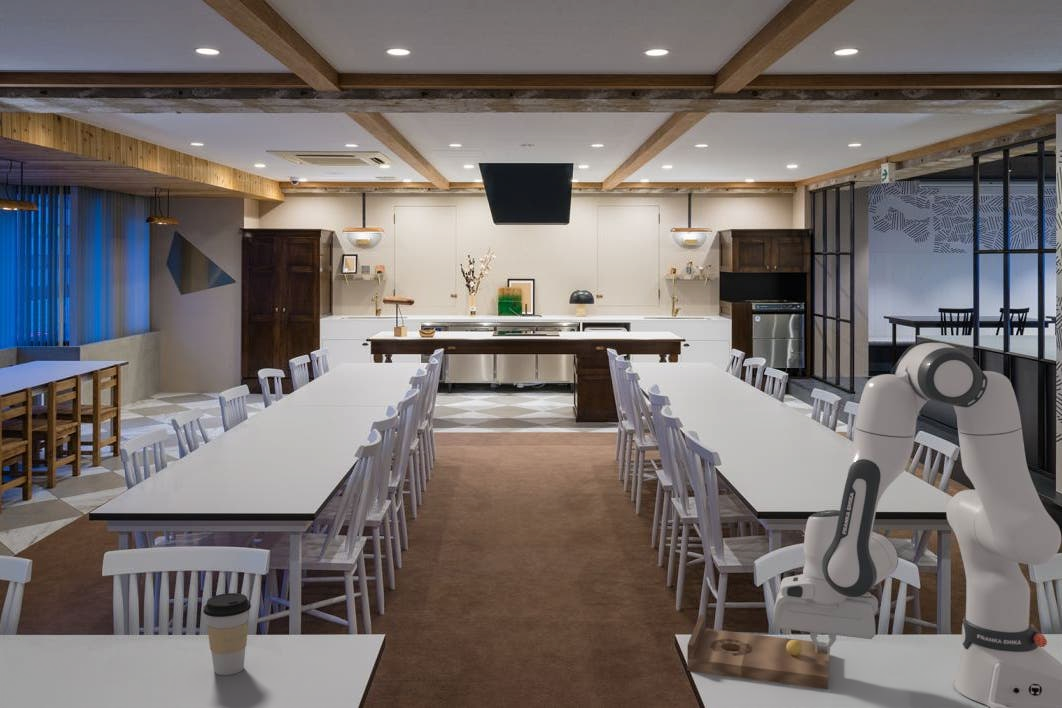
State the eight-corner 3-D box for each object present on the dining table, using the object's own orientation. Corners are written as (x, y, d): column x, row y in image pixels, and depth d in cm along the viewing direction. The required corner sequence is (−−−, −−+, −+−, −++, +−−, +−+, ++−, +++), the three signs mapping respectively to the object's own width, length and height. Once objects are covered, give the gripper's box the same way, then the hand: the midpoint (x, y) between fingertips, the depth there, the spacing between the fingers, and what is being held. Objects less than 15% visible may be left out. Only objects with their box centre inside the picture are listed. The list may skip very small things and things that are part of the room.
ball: (802, 653, 191) (802, 638, 191) (801, 659, 188) (802, 644, 188) (786, 651, 192) (786, 636, 192) (785, 657, 189) (786, 642, 189)
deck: (829, 654, 197) (829, 629, 196) (828, 689, 180) (829, 662, 179) (699, 638, 206) (699, 615, 205) (687, 670, 189) (687, 644, 188)
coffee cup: (233, 681, 183) (231, 609, 182) (194, 675, 186) (192, 604, 185) (261, 663, 192) (260, 594, 191) (224, 657, 195) (222, 589, 194)
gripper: (877, 588, 187) (874, 653, 188) (775, 577, 193) (772, 641, 194) (879, 598, 181) (876, 665, 182) (773, 587, 187) (771, 652, 188)
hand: (822, 652), depth 188 cm, fingers closed
